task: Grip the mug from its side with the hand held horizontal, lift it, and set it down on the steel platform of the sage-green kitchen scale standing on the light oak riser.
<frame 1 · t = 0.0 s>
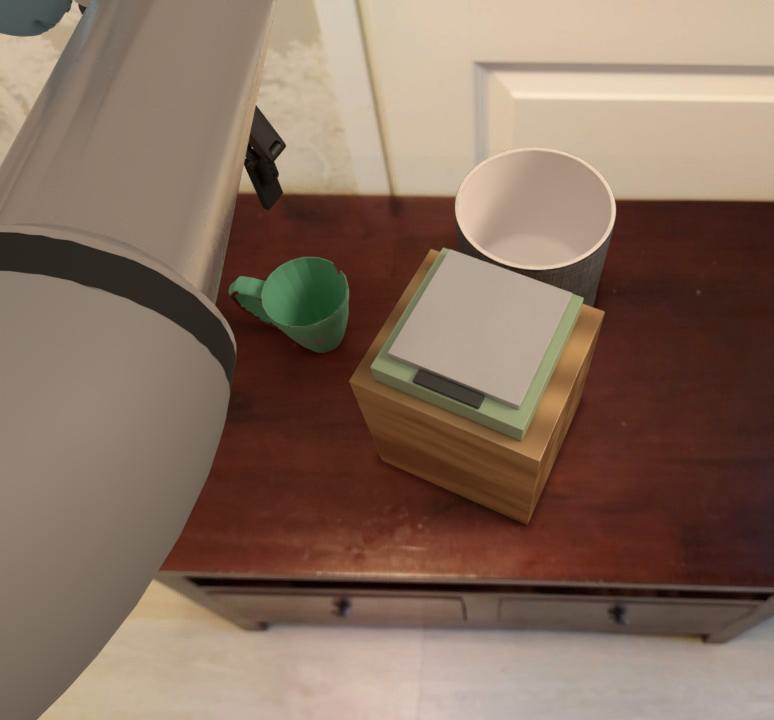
hand: (220, 181, 70), 19 cm above the table, tool pointing down, fingers open, 13 cm apart
planter: (527, 288, 86), on the table
riser: (482, 431, 76), on the table
mug: (306, 334, 83), on the table
scale: (480, 345, 59), resting on riser
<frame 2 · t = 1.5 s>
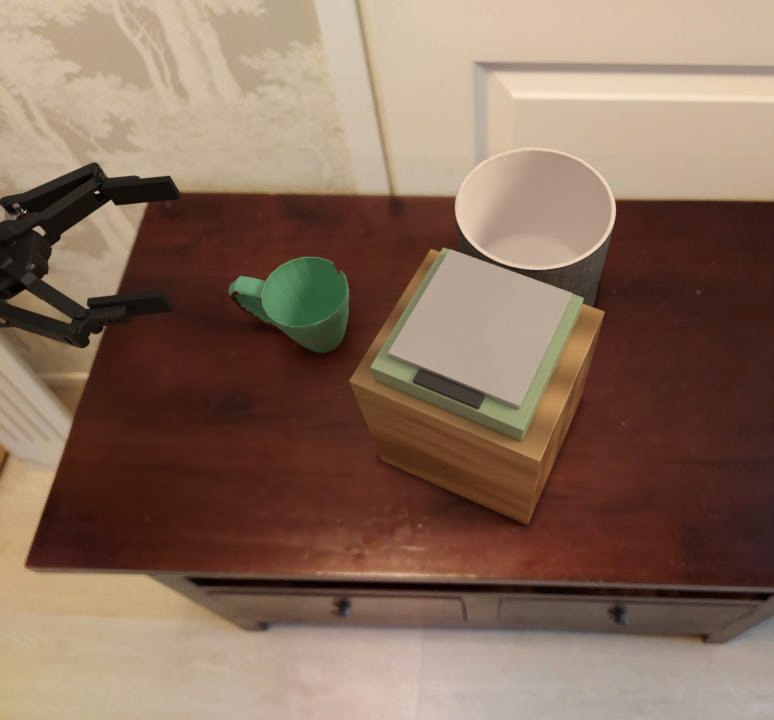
hand: (171, 241, 64), 21 cm above the table, tool horizontal, fingers open, 13 cm apart
nothing on the table moved.
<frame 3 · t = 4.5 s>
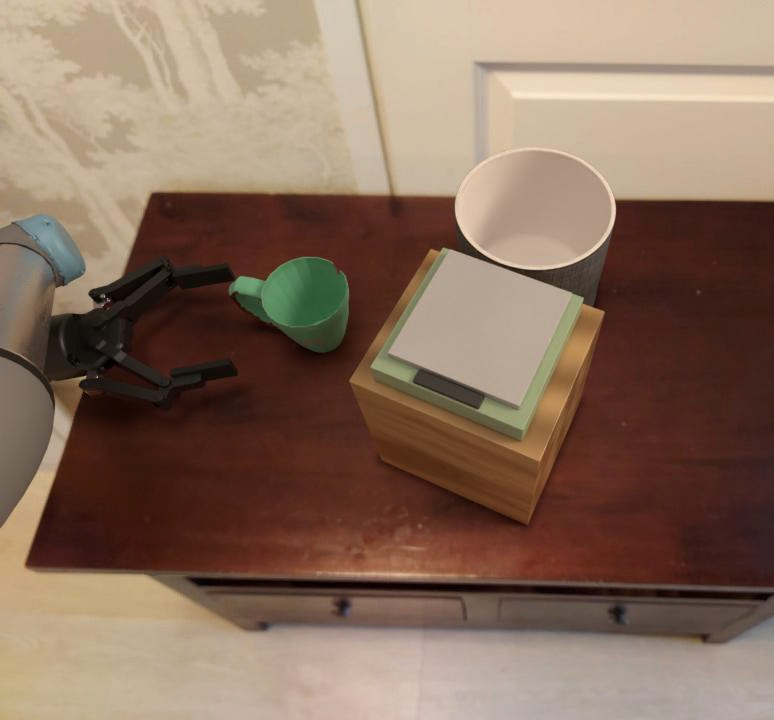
hand: (232, 317, 77), 6 cm above the table, tool horizontal, fingers open, 13 cm apart
nothing on the table moved.
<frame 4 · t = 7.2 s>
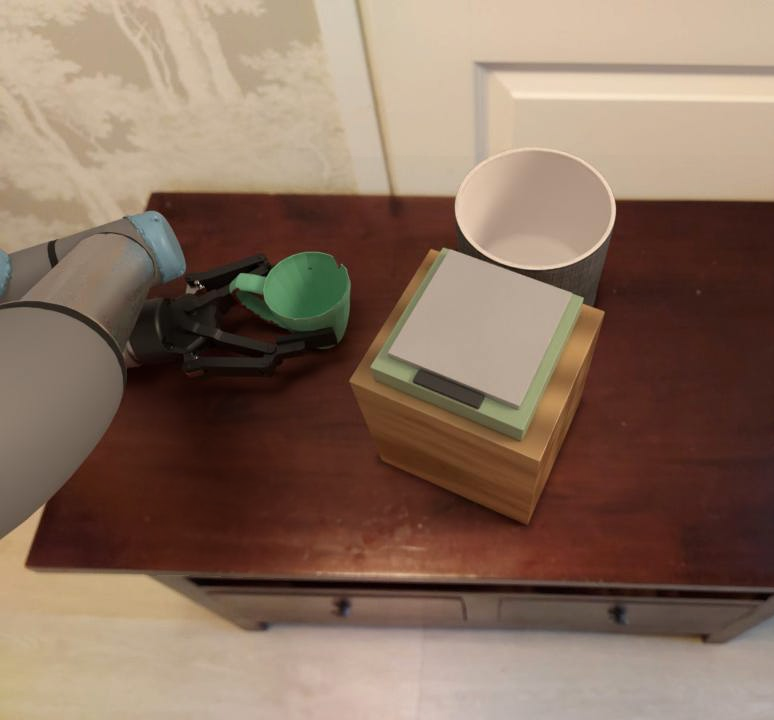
hand: (331, 301, 78), 6 cm above the table, tool horizontal, fingers closed on mug, 9 cm apart
mug: (306, 331, 83), on the table, touching gripper
everything else where it was.
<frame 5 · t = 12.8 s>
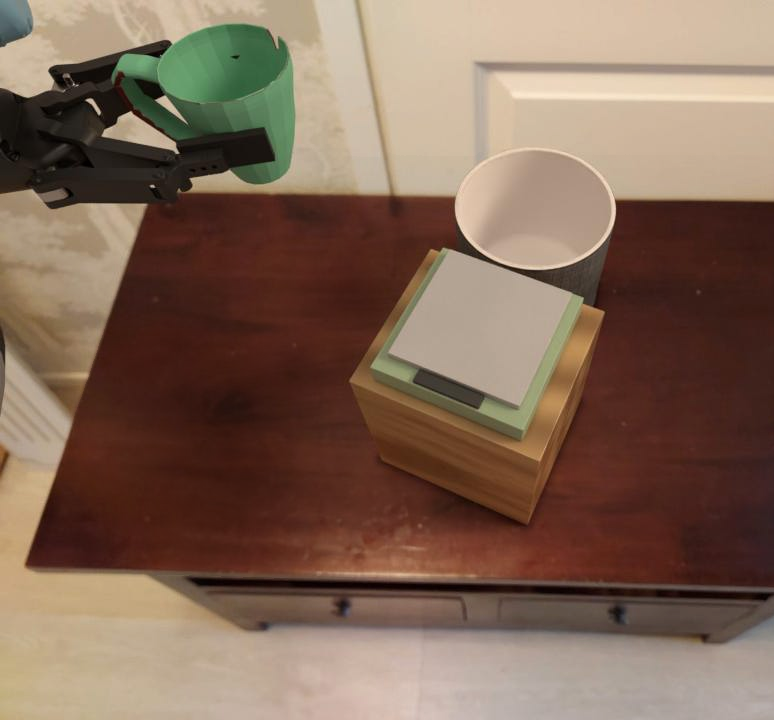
hand: (267, 102, 52), 35 cm above the table, tool horizontal, fingers closed on mug, 9 cm apart
mug: (237, 164, 58), point 29 cm above the table, touching gripper
everything else where it was.
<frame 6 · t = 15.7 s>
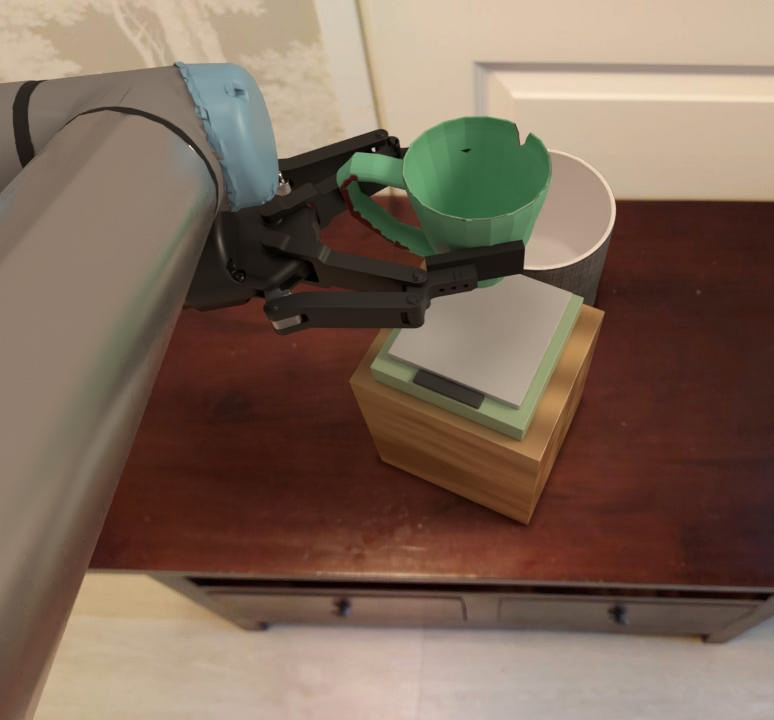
hand: (506, 203, 46), 36 cm above the table, tool horizontal, fingers closed on mug, 9 cm apart
mug: (448, 262, 51), point 29 cm above the table, touching gripper
everything else where it was.
when the fingers open (29 cm above the table, at t = 18.4 s): mug stays where it is, resting on scale.
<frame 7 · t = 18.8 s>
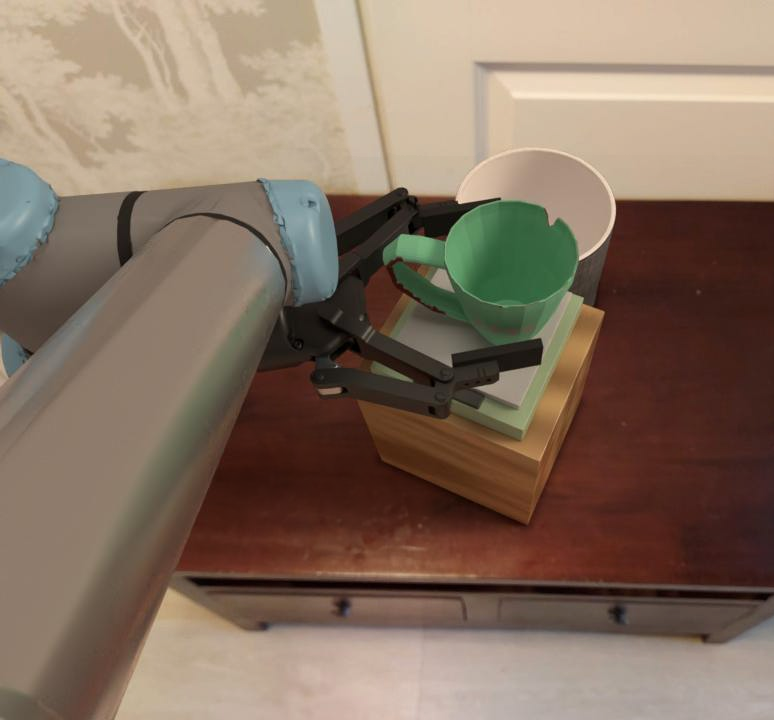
hand: (520, 277, 51), 29 cm above the table, tool horizontal, fingers open, 13 cm apart
mug: (479, 322, 56), point 23 cm above the table, touching scale
everything else where it was.
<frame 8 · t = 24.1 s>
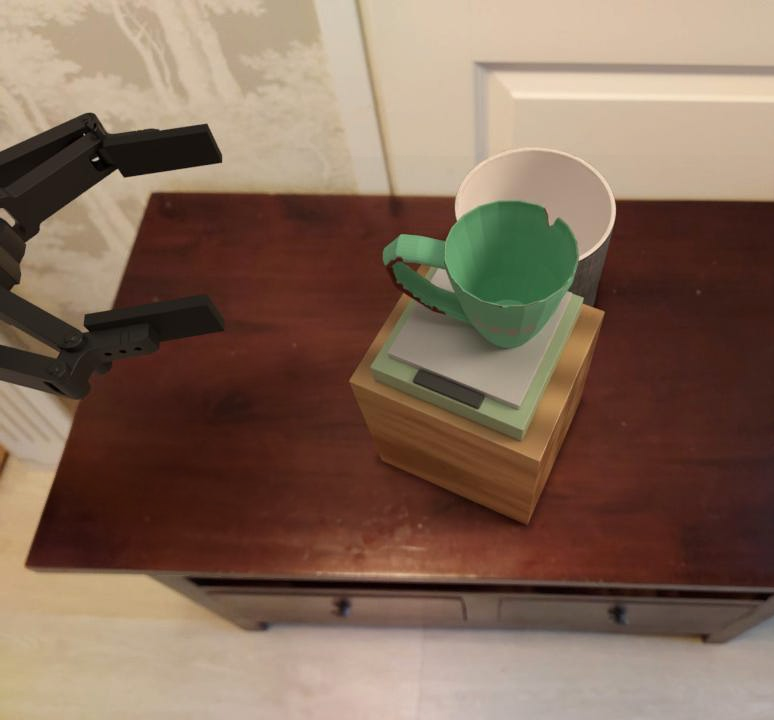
hand: (216, 221, 40), 40 cm above the table, tool horizontal, fingers open, 13 cm apart
nothing on the table moved.
at the end: mug inside the target area on the scale (0.5 cm from its centre), point 3.0 cm above the scale's base; mug tilted 0°; the gripper is holding nothing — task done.
